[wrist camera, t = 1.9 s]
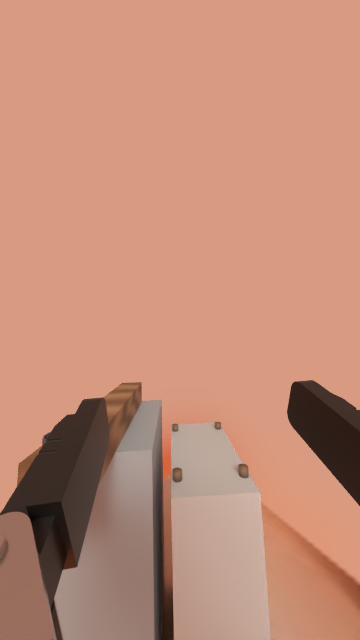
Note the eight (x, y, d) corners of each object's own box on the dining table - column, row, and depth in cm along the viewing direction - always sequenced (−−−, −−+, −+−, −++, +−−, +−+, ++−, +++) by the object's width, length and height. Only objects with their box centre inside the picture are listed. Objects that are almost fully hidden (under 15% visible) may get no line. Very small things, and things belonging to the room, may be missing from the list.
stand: (101, 589, 37) (104, 402, 41) (226, 579, 38) (217, 397, 43) (21, 866, 18) (42, 455, 22) (284, 829, 19) (256, 444, 23)
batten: (121, 403, 41) (122, 383, 41) (141, 402, 41) (141, 382, 41) (14, 530, 13) (18, 464, 13) (77, 526, 13) (79, 460, 14)
